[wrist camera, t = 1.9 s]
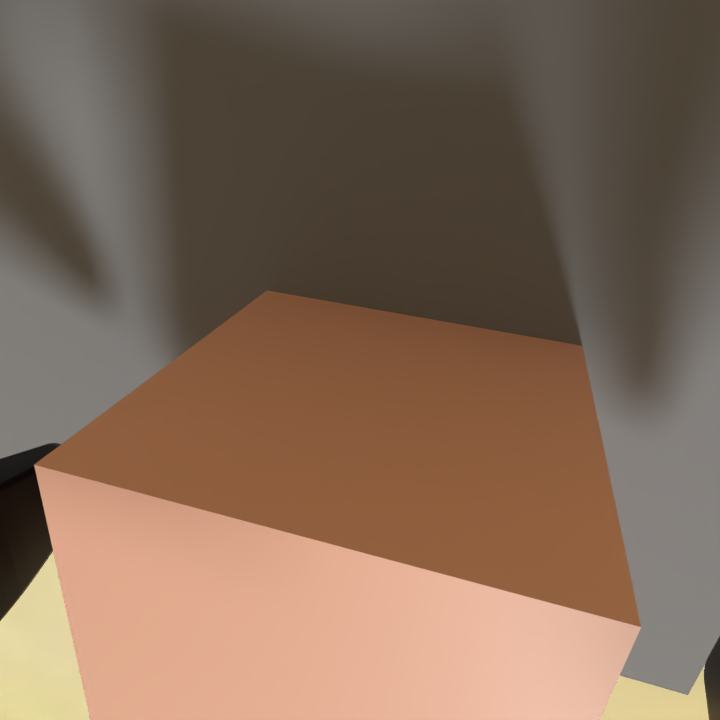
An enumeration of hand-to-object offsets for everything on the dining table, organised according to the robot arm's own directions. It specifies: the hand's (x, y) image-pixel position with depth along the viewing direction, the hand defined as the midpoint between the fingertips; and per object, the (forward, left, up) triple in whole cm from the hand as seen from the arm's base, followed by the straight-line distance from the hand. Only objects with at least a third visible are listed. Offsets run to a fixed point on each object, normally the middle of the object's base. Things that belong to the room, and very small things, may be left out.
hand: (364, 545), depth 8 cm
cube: (0, 0, -2) cm, 3 cm away
